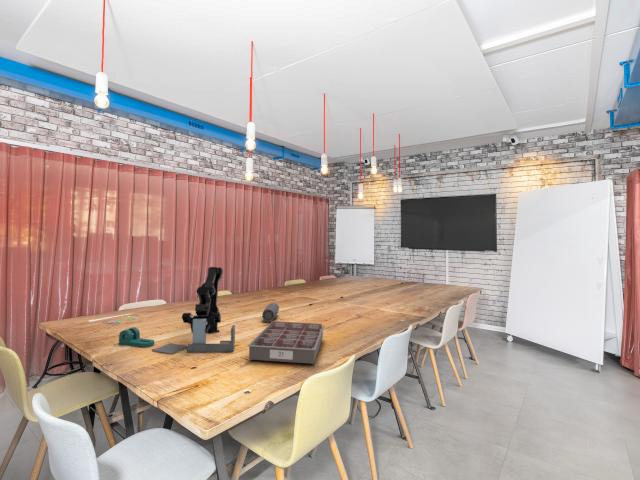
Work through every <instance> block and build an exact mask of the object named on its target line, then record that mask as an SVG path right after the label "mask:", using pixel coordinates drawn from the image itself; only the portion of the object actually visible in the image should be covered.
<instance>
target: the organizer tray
mask: <svg viewBox="0 0 640 480" xmlns="http://www.w3.org/2000/svg"><path fill="white" fill-rule="evenodd" d="M324 328H325V326H323V323H316V322H315V323H314V322H298V321H297V322H295V321H278V320H272V321H270V323H269V324H268V325H267V326H266V327H265V328H264V329H263V330H262V331H261V332H260V333H259V334H258V335H257V336H256V337H255V338H254V339H253V340H252V341H251V342H249V343H248V345H247V347H248V348H249V349H248V350H249V351H248V360H254V361H268V362H283V363H297V364H311V365H314V364H315V362H316V359H317V357H318V353H319V350H320V347H321V344H322V341H323V337H324V334H323V333H324Z"/></svg>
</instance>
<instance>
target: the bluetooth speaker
mask: <svg viewBox="0 0 640 480" xmlns="http://www.w3.org/2000/svg"><path fill="white" fill-rule="evenodd" d="M279 310H280V306H279V305H278V303H276V302H271V303H269V304H268V305H267V306H266V307H265V308H264V310H263V311H262V314H261V315H262V319H263V320H264V321H265V322H271V321H274V319H275V318H276V317H277V315H278V313H279Z"/></svg>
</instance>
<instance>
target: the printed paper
mask: <svg viewBox="0 0 640 480" xmlns="http://www.w3.org/2000/svg"><path fill="white" fill-rule="evenodd" d="M132 314H133V312H131V313H130V315H131V316H130V315H129V316H127V315H128V313H125V314H124V316H123V314H119V315H113V316H109V317H108V316H107V317H102V318H94V319H90V320H88V322H91V323H92V322H97V321H101V320H102V322H106V324H112V325H115V324H121V323H122V321H120V320H118V319H113V318H117V317H121V319H122V320H126V319H127V320H128V321H130V319H131V320H132V319H133V320H132V322H134V321H139V320H140V318H136V317H135V316H133V315H132ZM122 316H123V317H122Z"/></svg>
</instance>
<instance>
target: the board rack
mask: <svg viewBox="0 0 640 480" xmlns="http://www.w3.org/2000/svg"><path fill="white" fill-rule="evenodd" d="M230 328H231V329H230V340H219V343H206V344H192V343H187V345H186V346H187V348H186V349H187V350H186V351H187V353H188V354H189V353H190V354H193V353H201V354H202V353H204V352H205V353H233V352H234V350H235V347H236V346H235V345H236V344H235V343H236V341H235V340H236V325H234V324H233V325H232V326H231V327H230ZM221 342H230V343H225V344H221Z"/></svg>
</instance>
